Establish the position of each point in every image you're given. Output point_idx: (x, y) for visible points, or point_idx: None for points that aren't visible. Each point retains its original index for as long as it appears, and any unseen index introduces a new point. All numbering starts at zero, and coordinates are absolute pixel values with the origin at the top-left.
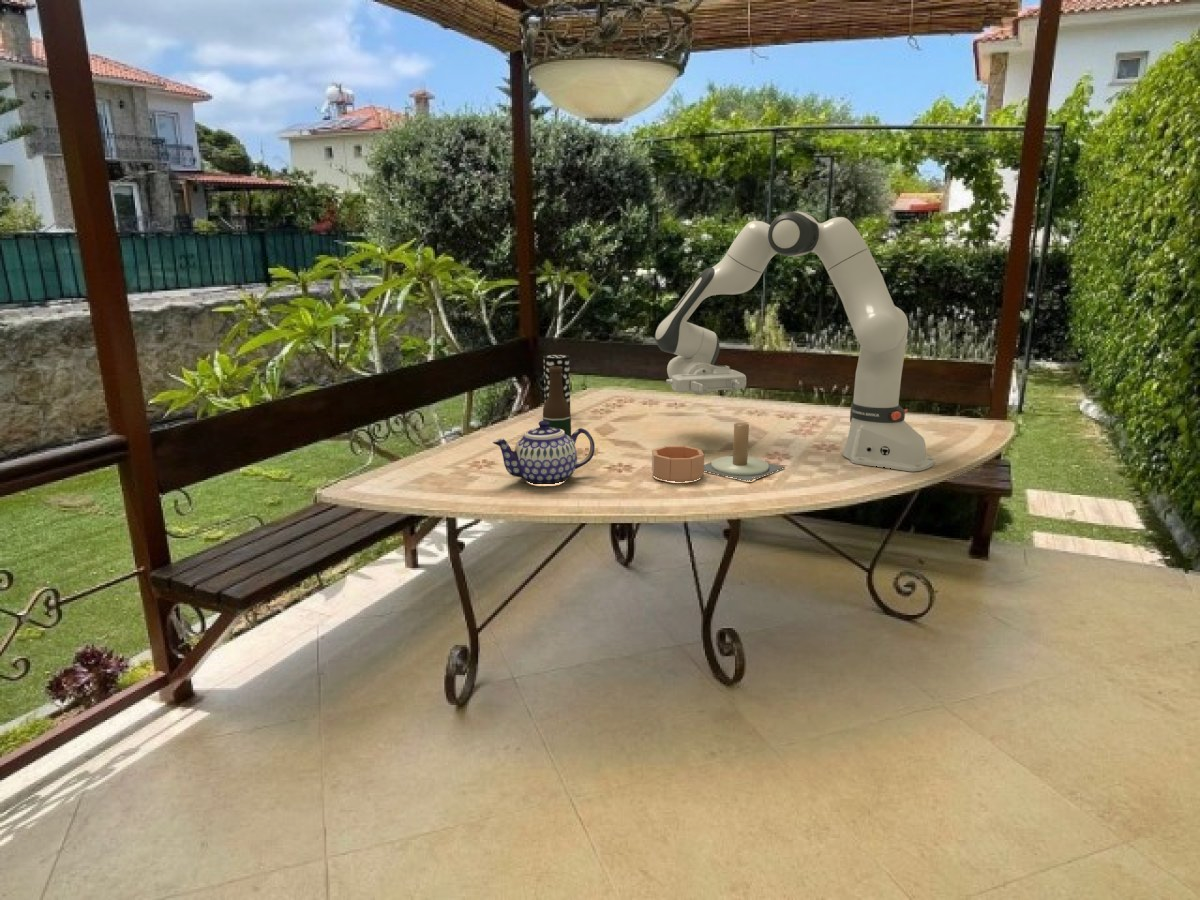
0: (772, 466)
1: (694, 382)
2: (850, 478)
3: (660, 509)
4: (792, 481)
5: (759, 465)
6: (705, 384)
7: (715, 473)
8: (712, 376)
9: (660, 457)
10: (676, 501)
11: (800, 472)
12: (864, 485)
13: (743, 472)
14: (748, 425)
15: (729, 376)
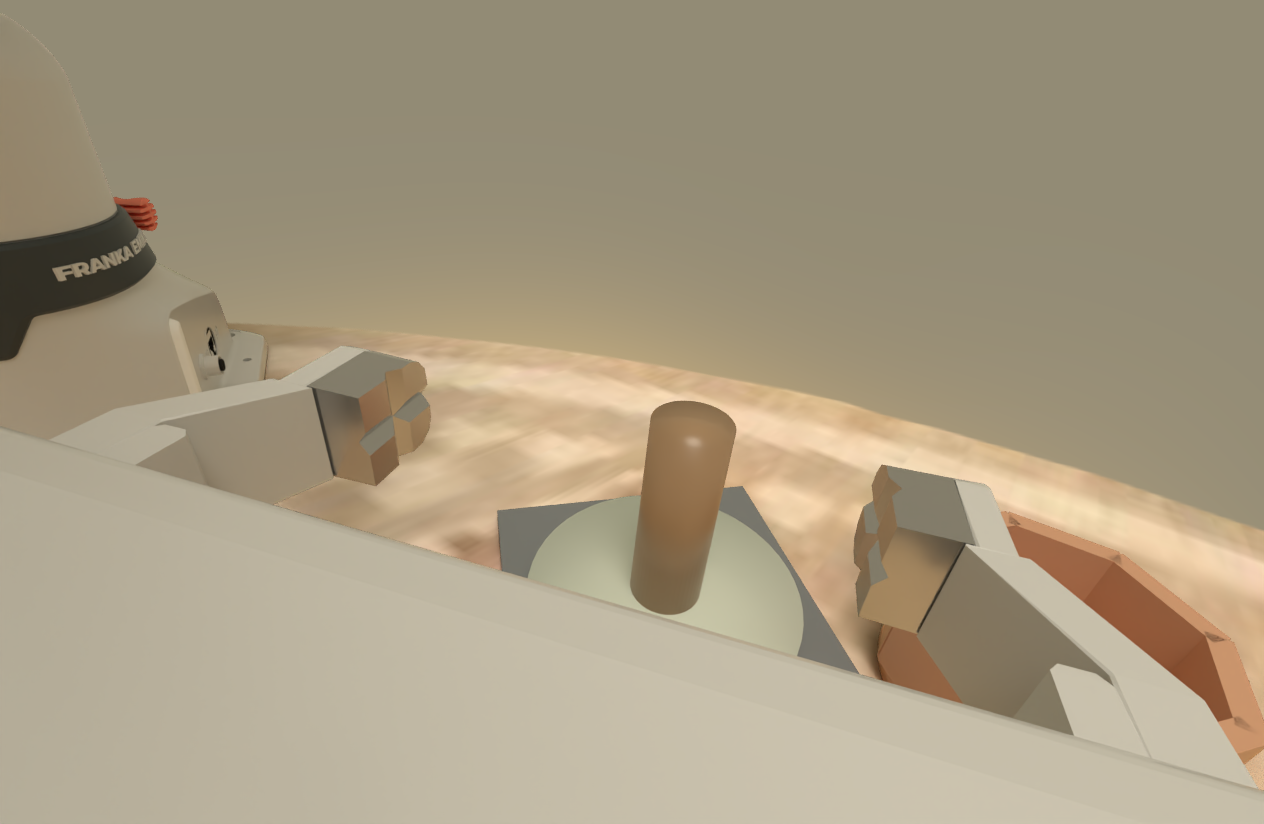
0: (531, 535)
1: (1123, 655)
2: (441, 389)
3: (1111, 492)
4: (602, 443)
5: (610, 529)
6: (895, 468)
7: (814, 604)
8: (386, 656)
9: (1182, 603)
10: (1051, 507)
11: (494, 471)
12: (477, 360)
13: (727, 516)
14: (672, 402)
15: (58, 457)
